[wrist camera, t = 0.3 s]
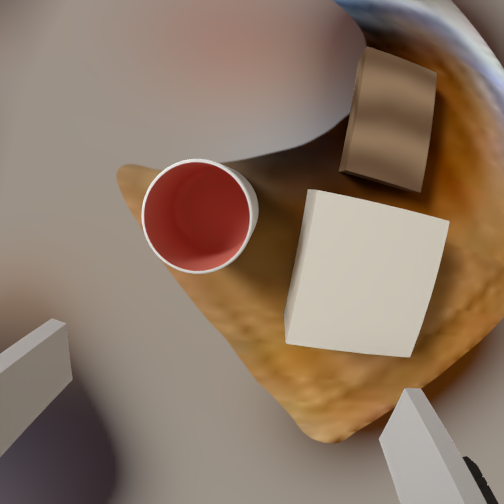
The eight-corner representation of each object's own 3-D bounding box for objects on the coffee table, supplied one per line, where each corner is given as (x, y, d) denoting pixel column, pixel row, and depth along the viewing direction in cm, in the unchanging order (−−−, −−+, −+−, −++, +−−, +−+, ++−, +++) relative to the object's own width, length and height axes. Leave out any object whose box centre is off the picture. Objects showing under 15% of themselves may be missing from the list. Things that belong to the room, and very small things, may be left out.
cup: (271, 181, 36) (269, 179, 26) (242, 263, 38) (231, 290, 28) (189, 155, 36) (159, 145, 26) (164, 235, 38) (129, 252, 28)
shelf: (308, 189, 35) (317, 190, 28) (417, 213, 35) (449, 221, 27) (283, 313, 39) (285, 343, 31) (388, 327, 38) (410, 357, 30)
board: (358, 58, 32) (366, 46, 28) (423, 81, 32) (436, 73, 28) (338, 171, 35) (345, 170, 31) (406, 191, 35) (420, 192, 31)
